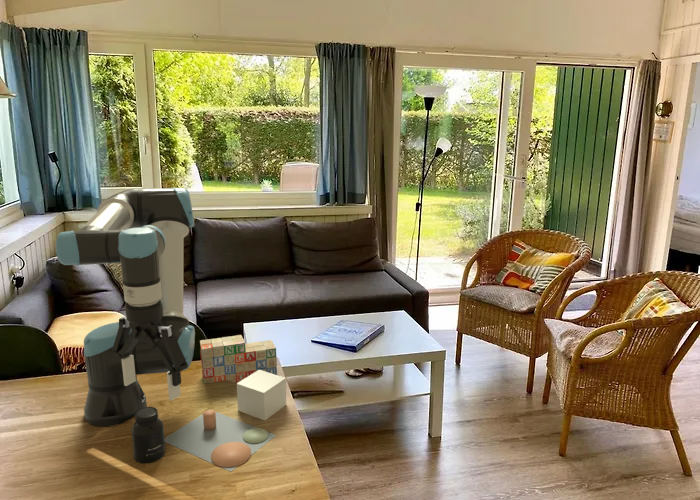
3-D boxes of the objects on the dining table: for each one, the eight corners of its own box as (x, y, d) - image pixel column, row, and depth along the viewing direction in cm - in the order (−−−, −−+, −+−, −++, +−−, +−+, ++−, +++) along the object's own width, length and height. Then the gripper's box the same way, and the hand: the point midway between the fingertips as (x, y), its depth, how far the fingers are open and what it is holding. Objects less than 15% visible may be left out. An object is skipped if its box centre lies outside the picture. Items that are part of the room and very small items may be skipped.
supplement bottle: (155, 470, 122) (151, 422, 119) (128, 466, 123) (122, 418, 120) (171, 451, 128) (167, 405, 125) (145, 447, 130) (140, 402, 127)
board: (161, 444, 131) (160, 425, 130) (210, 413, 144) (209, 395, 143) (232, 477, 120) (231, 456, 119) (278, 440, 133) (277, 421, 132)
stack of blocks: (273, 367, 170) (271, 330, 167) (277, 376, 164) (276, 338, 161) (201, 377, 163) (199, 339, 160) (203, 388, 157) (201, 348, 154)
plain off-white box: (238, 414, 144) (236, 383, 142) (260, 399, 151) (259, 369, 149) (264, 424, 140) (263, 392, 137) (286, 408, 147) (285, 378, 145)
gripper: (88, 296, 119) (99, 384, 125) (174, 317, 108) (182, 412, 114) (116, 286, 126) (125, 370, 131) (200, 305, 115) (206, 396, 120)
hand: (151, 390), depth 123 cm, fingers open, 13 cm apart
